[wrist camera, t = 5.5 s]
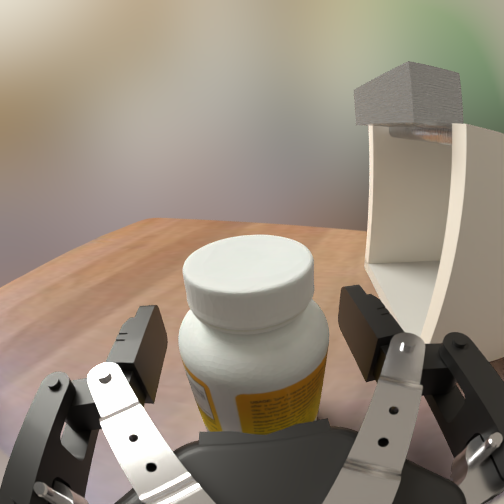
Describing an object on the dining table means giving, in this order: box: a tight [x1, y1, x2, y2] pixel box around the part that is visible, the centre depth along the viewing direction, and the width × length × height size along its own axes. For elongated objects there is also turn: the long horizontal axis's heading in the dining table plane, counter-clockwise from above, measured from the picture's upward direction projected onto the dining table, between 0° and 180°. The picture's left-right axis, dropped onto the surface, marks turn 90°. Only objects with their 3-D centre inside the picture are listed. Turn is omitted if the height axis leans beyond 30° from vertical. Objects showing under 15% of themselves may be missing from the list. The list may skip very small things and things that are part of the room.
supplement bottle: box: [178, 235, 329, 435], centre depth 11 cm, size 5×5×10 cm
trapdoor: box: [354, 61, 463, 146], centre depth 14 cm, size 16×12×4 cm
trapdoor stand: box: [364, 123, 504, 362], centre depth 16 cm, size 18×15×14 cm
